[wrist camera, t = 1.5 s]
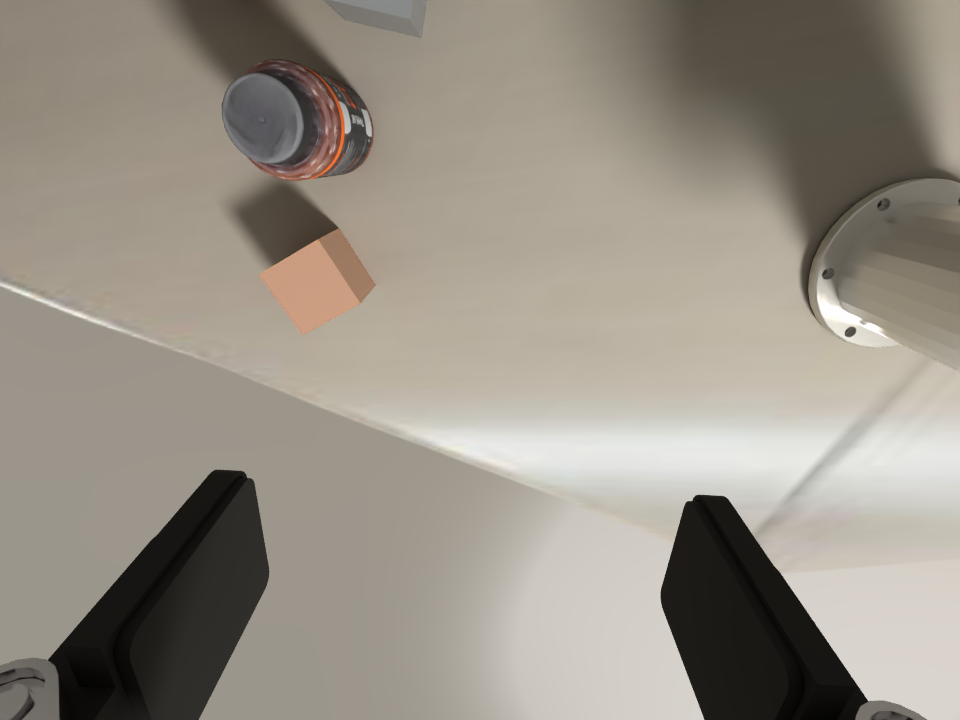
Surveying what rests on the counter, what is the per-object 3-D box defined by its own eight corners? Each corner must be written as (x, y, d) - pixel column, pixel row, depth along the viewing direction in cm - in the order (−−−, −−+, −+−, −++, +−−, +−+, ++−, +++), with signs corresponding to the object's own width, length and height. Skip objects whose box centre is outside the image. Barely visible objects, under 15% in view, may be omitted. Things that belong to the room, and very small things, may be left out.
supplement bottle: (385, 99, 33) (336, 76, 22) (364, 186, 35) (312, 202, 25) (298, 66, 32) (207, 27, 22) (283, 157, 34) (194, 162, 24)
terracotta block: (339, 227, 36) (317, 239, 32) (375, 284, 38) (360, 303, 33) (286, 259, 37) (258, 274, 33) (324, 313, 39) (302, 335, 34)
